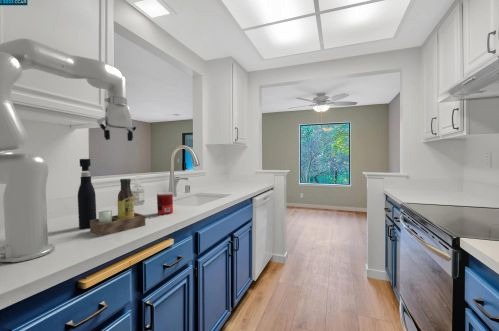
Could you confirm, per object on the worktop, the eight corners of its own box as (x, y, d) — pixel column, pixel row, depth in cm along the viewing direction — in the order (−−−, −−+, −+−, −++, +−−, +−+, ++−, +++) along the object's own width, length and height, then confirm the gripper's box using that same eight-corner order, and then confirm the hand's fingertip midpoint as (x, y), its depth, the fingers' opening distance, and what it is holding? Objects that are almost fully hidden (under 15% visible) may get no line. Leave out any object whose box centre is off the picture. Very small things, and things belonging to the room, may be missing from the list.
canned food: (175, 211, 128) (174, 191, 128) (168, 215, 120) (167, 194, 120) (163, 211, 129) (162, 192, 129) (154, 215, 121) (153, 194, 121)
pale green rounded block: (101, 231, 91) (101, 213, 91) (97, 229, 94) (96, 212, 94) (114, 228, 95) (113, 211, 95) (109, 226, 98) (109, 210, 98)
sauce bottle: (127, 226, 97) (125, 179, 97) (114, 225, 99) (112, 179, 98) (137, 222, 104) (136, 178, 103) (125, 221, 105) (124, 178, 104)
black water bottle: (98, 226, 102) (95, 158, 101) (80, 230, 97) (77, 158, 96) (94, 224, 106) (91, 159, 106) (77, 227, 102) (74, 159, 101)
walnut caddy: (101, 236, 88) (100, 224, 88) (90, 231, 95) (89, 220, 95) (145, 225, 102) (145, 215, 102) (133, 221, 109) (132, 212, 109)
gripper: (99, 97, 97) (101, 138, 97) (140, 104, 111) (141, 140, 111) (92, 101, 102) (94, 140, 102) (132, 107, 115) (134, 141, 116)
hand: (119, 140), depth 106 cm, fingers open, 9 cm apart
